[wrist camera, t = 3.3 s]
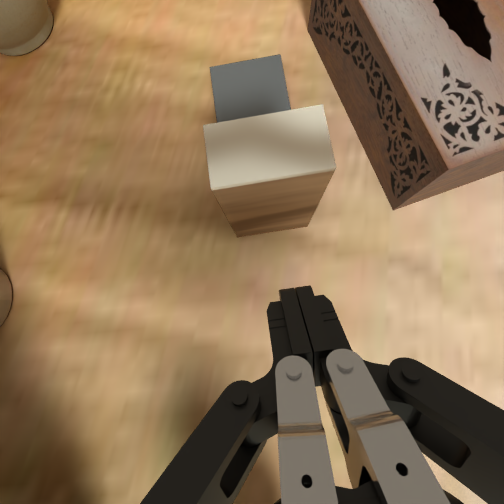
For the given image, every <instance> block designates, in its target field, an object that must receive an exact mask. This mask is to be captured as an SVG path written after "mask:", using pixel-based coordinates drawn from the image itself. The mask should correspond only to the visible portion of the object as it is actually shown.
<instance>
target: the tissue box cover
mask: <svg viewBox="0 0 504 504" xmlns="http://www.w3.org/2000/svg"><path fill="white" fill-rule="evenodd" d="M308 32H309V34H310V36H311V39H312V41H313V43H314V45H315V47H316V49H317V51H318V53H319V55H320V57H321V60H322V62H323V64H324V66H325V68H326V70H327V72H328V74H329V76H330V79H331V81H332V83H333V85H334V87H335V89H336V91H337V93H338V95H339V97H340V100H341V102H342V104H343V106H344V108H345V110H346V112H347V114H348V116H349V118H350V121H351V123H352V125H353V127H354V129H355V131H356V133H357V135H358V137H359V140H360V142H361V144H362V146H363V148H364V150H365V152H366V154H367V156H368V158H369V161H370V163H371V165H372V167H373V169H374V171H375V173H376V175H377V177H378V180H379V182H380V184H381V186H382V188H383V190H384V192H385V194H386V196H387V198H388V201H389V203H390V205H391V207H392V209H393V210H396V209H398V208H401V207H404V206H407V205H409V204H412V203H415V202H418V201H421V200H423V199H426V198H429V197H432V196H434V195H437V194H440V193H443V192H446V191H448V190H451V189H454V188H457V187H459V186H462V185H465V184H468V183H471V182H473V181H476V180H479V179H482V178H485V177H487V176H490V175H493V174H496V173H498V172H501V171H504V0H312V3H311V10H310V17H309V25H308Z"/></svg>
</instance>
